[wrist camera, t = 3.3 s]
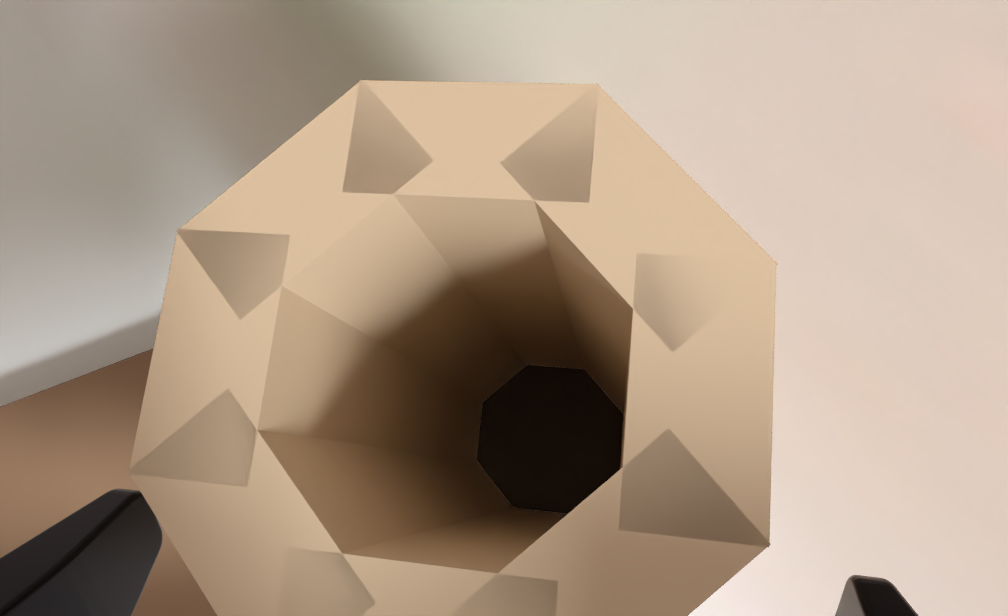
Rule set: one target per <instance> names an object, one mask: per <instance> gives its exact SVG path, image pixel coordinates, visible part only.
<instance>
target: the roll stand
mask: <svg viewBox="0 0 1008 616" xmlns="http://www.w3.org/2000/svg"><path fill="white" fill-rule="evenodd" d="M153 349H154V348H153ZM153 349H151V350H148V351H146V352H143V353H140V354H138V355H135V356H133V357H130V358H127V359H125V360H122V361H120V362H117V363H114V364H112V365H109V366H107V367H104V368H101V369H99V370H96V371H94V372H91V373H88V374H86V375H83V376H81V377H78V378H75V379H73V380H70V381H67V382H65V383H62V384H60V385H57V386H54V387H52V388H49V389H47V390H44V391H41V392H39V393H36V394H34V395H31V396H28V397H26V398H23V399H21V400H18V401H15V402H13V403H10V404H8V405H5V406H2V407H0V558H1V557H3V556H4V555H6V554H7V553H9V552H11V551H12V550H14V549H15V548H17V547H19V546H20V545H22V544H24V543H25V542H27V541H28V540H30V539H32V538H33V537H35V536H37V535H38V534H40V533H41V532H43V531H45V530H46V529H48V528H50V527H51V526H53V525H54V524H56V523H58V522H59V521H61V520H63V519H64V518H66V517H67V516H69V515H71V514H72V513H74V512H76V511H77V510H79V509H80V508H82V507H84V506H85V505H87V504H89V503H90V502H92V501H93V500H95V499H97V498H98V497H100V496H101V495H103V494H105V493H106V492H108V491H110V490H113V489H130V490H138V491H140V490H139V488H138V487H137V485H136V483H135V482H134V480H133V479H132V477H131V475H130V474H128V470H129V467H130V462H131V457H132V452H133V447H134V443H135V438H136V433H137V428H138V423H139V418H140V413H141V408H142V403H143V398H144V393H145V388H146V383H147V378H148V373H149V368H150V363H151V359H152V354H153ZM159 524H160V522H159ZM160 526H161V529H162V533H163V540H162V545H161V549H160V552H159V554H158V556H157V559H156V561H155V563H154V566H153V568H152V570H151V573H150V575H149V577H148V579H147V582H146V584H145V586H144V589H143V591H142V593H141V596H140V598H139V600H138V603H137V605H136V607H135V610H134V612H133V614H132V616H217V614H216V613H215V611H214V609H213V608H212V606H211V605H210V603H209V601H208V600H207V598H206V596H205V595H204V593H203V592H202V590H201V588H200V587H199V585H198V584H197V582H196V580H195V579H194V577H193V575H192V574H191V572H190V571H189V569H188V567H187V566H186V564H185V563H184V561H183V559H182V558H181V556H180V554H179V553H178V551H177V550H176V548H175V546H174V545H173V543H172V542H171V540H170V538H169V537H168V535H167V533H166V532H165V530H164V529H163V527H162V525H161V524H160Z"/></svg>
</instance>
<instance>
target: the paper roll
mask: <svg viewBox="0 0 1008 616" xmlns="http://www.w3.org/2000/svg"><path fill="white" fill-rule="evenodd" d="M776 265H777V263H776V261H774V260H773V259H772V258H771V257H770V256H769V255H768V254H767V253H766V252H765V251H764V250H763V249H762V248H761V247H760V246H759V245H758V244H757V243H756V242H755V241H754V240H753V239H752V238H751V237H750V236H749V235H748V234H747V233H746V232H745V231H744V230H743V229H742V228H741V227H740V226H739V225H738V224H737V223H736V222H735V221H734V220H733V219H732V218H731V217H730V216H729V215H728V214H727V213H726V212H725V211H724V210H723V209H722V208H721V207H720V206H719V205H718V204H717V203H716V202H715V201H714V200H713V199H712V198H711V197H710V196H709V195H708V194H707V193H706V192H705V191H704V190H703V189H702V188H701V187H700V186H699V185H698V184H697V183H696V182H695V181H694V180H693V179H692V178H691V177H690V176H689V175H688V174H687V173H686V172H685V171H684V170H683V169H682V168H681V167H680V166H679V165H678V164H677V163H676V162H675V161H674V160H673V159H672V158H671V157H670V156H669V155H668V154H667V153H666V152H665V151H664V150H663V149H662V148H661V147H660V146H659V145H658V144H657V143H656V142H655V141H654V140H653V139H652V138H651V137H650V136H649V135H648V134H647V133H646V132H645V131H644V130H643V129H642V128H641V127H640V126H639V125H638V124H637V123H636V122H635V121H634V120H633V119H632V118H631V117H630V116H629V115H628V114H627V113H626V112H625V111H624V110H623V109H622V108H621V107H620V106H619V105H618V104H617V103H616V102H615V101H614V100H613V99H612V98H611V97H610V96H609V95H608V94H607V93H606V92H605V91H604V90H603V89H602V88H601V87H600V86H599V84H597V83H596V84H556V83H496V82H435V81H375V80H360V81H359V82H358V83H357V84H356V85H355V86H353V87H352V88H351V89H350V90H349V91H347V92H346V93H345V94H344V95H342V96H341V97H340V98H339V99H338V100H336V101H335V102H334V103H333V104H331V105H330V106H329V107H328V108H327V109H325V110H324V111H323V112H322V113H320V114H319V115H318V116H317V117H316V118H314V119H313V120H312V121H311V122H309V123H308V124H307V125H306V126H305V127H303V128H302V129H301V130H300V131H298V132H297V133H296V134H295V135H294V136H292V137H291V138H290V139H289V140H287V141H286V142H285V143H284V144H282V145H281V146H280V147H279V148H278V149H276V150H275V151H274V152H273V153H271V154H270V155H269V156H268V157H267V158H265V159H264V160H263V161H262V162H260V163H259V164H258V165H257V166H256V167H254V168H253V169H252V170H251V171H249V172H248V173H247V174H246V175H245V176H243V177H242V178H241V179H240V180H238V181H237V182H236V183H235V184H234V185H232V186H231V187H230V188H229V189H227V190H226V191H225V192H224V193H223V194H221V195H220V196H219V197H218V198H216V199H215V200H214V201H213V202H211V203H210V204H209V205H208V206H207V207H205V208H204V209H203V210H202V211H200V212H199V213H198V214H197V215H196V216H194V217H193V218H192V219H191V220H189V221H188V222H187V223H186V224H185V225H183V226H182V227H181V228H180V229H178V230H177V235H176V240H175V245H174V250H173V255H172V260H171V265H170V270H169V275H168V280H167V284H166V289H165V294H164V299H163V304H162V309H161V314H160V319H159V324H158V329H157V334H156V339H155V344H154V349H153V354H152V359H151V363H150V368H149V373H148V378H147V383H146V388H145V393H144V398H143V403H142V408H141V413H140V418H139V423H138V428H137V433H136V438H135V443H134V447H133V452H132V457H131V462H130V467H129V470H128V474H130V475H131V477H132V479H133V480H134V482H135V483H136V485H137V487H138V488H139V490H140V491H141V493H142V495H143V496H144V498H145V500H146V501H147V503H148V504H149V506H150V508H151V509H152V511H153V512H154V514H155V516H156V517H157V519H158V521H159V522H160V524H161V525H162V527H163V529H164V530H165V532H166V533H167V535H168V537H169V538H170V540H171V542H172V543H173V545H174V546H175V548H176V550H177V551H178V553H179V554H180V556H181V558H182V559H183V561H184V563H185V564H186V566H187V567H188V569H189V571H190V572H191V574H192V575H193V577H194V579H195V580H196V582H197V584H198V585H199V587H200V588H201V590H202V592H203V593H204V595H205V596H206V598H207V600H208V601H209V603H210V605H211V606H212V608H213V609H214V611H215V613H216V614H217V616H688V615H689V614H690V613H691V612H692V611H693V610H695V609H696V608H697V607H698V606H699V605H700V604H702V603H703V602H704V601H705V600H706V599H707V598H709V597H710V596H711V595H712V594H713V593H714V592H715V591H717V590H718V589H719V588H720V587H721V586H722V585H724V584H725V583H726V582H727V581H728V580H729V579H731V578H732V577H733V576H734V575H735V574H736V573H738V572H739V571H740V570H741V569H742V568H743V567H745V566H746V565H747V564H748V563H749V562H750V561H752V560H753V559H754V558H755V557H756V556H757V555H758V554H760V553H761V552H762V551H763V550H764V549H765V548H767V547H769V545H770V543H769V535H770V495H771V455H772V415H773V376H774V336H775V296H776ZM527 365H533V366H546V367H558V368H571V369H583V370H585V371H586V372H587V373H588V374H589V375H590V377H591V378H592V379H593V380H594V381H595V382H596V383H597V385H598V386H599V387H600V388H601V389H602V390H603V392H604V393H605V394H606V395H607V396H608V397H609V399H610V400H611V401H612V402H613V403H614V404H615V405H616V407H617V408H618V409H619V410H620V411H621V412H622V414H623V427H622V442H621V457H620V470H619V471H618V472H616V473H615V474H614V475H613V476H612V477H611V478H609V479H608V480H607V481H606V482H605V483H603V484H602V485H601V486H600V487H599V488H598V489H596V490H595V491H594V492H593V493H592V494H591V495H589V496H588V497H587V498H586V499H585V500H583V501H582V502H581V503H580V504H579V505H578V506H576V507H575V508H574V509H573V510H572V511H571V512H569V513H568V514H567V513H558V512H549V511H540V510H531V509H522V508H514V507H513V506H512V505H511V504H510V502H509V501H508V500H507V499H506V497H505V496H504V495H503V493H502V492H501V491H500V490H499V488H498V487H497V486H496V484H495V483H494V482H493V481H492V479H491V478H490V477H489V475H488V474H487V473H486V472H485V470H484V469H483V468H482V466H481V465H480V464H479V463H478V461H477V454H478V444H479V435H480V426H481V416H482V407H483V402H484V401H485V400H486V399H487V398H488V397H490V396H491V395H492V394H493V393H494V392H496V391H497V390H498V389H499V388H500V387H502V386H503V385H504V384H505V383H506V382H507V381H509V380H510V379H511V378H512V377H513V376H515V375H516V374H517V373H518V372H519V371H521V370H522V369H523V368H524V367H525V366H527Z"/></svg>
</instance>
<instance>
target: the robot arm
mask: <svg viewBox="0 0 1008 616" xmlns="http://www.w3.org/2000/svg"><path fill="white" fill-rule="evenodd" d="M162 540H163V533H162V529H161V526H160V524H159V521H158V519H157V517H156V516H155V514H154V512H153V511H152V509H151V508H150V506H149V504H148V503H147V501H146V500H145V498H144V496H143V495H142V493H141V491H138V490H130V489H113V490H110V491H108V492H106V493H105V494H103V495H101V496H100V497H98V498H97V499H95V500H93V501H92V502H90V503H89V504H87V505H85V506H84V507H82V508H80V509H79V510H77V511H76V512H74V513H72V514H71V515H69V516H67V517H66V518H64V519H63V520H61V521H59V522H58V523H56V524H54V525H53V526H51V527H50V528H48V529H46V530H45V531H43V532H41V533H40V534H38V535H37V536H35V537H33V538H32V539H30V540H28V541H27V542H25V543H24V544H22V545H20V546H19V547H17V548H15V549H14V550H12V551H11V552H9V553H7V554H6V555H4V556H3V557H1V558H0V616H132V614H133V612H134V610H135V607H136V605H137V603H138V600H139V598H140V596H141V593H142V591H143V589H144V586H145V584H146V582H147V579H148V577H149V575H150V573H151V570H152V568H153V566H154V563H155V561H156V559H157V556H158V554H159V552H160V549H161V545H162ZM835 616H918V614H917V613H916V612H915V611H914V610H913V608H912V607H911V606H910V605H909V603H908V602H907V601H906V600H905V598H904V597H903V596H902V595H901V594H900V592H899V591H898V590H897V589H896V587H895V586H894V585H893V584H892V583H891V582H889V581H888V580H886V579H883V578H877V577H868V576H860V575H853V576H851V577H850V578H849V579H848V580H847V582H846V585H845V588H844V591H843V594H842V597H841V600H840V603H839V606H838V609H837V612H836V615H835Z"/></svg>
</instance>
